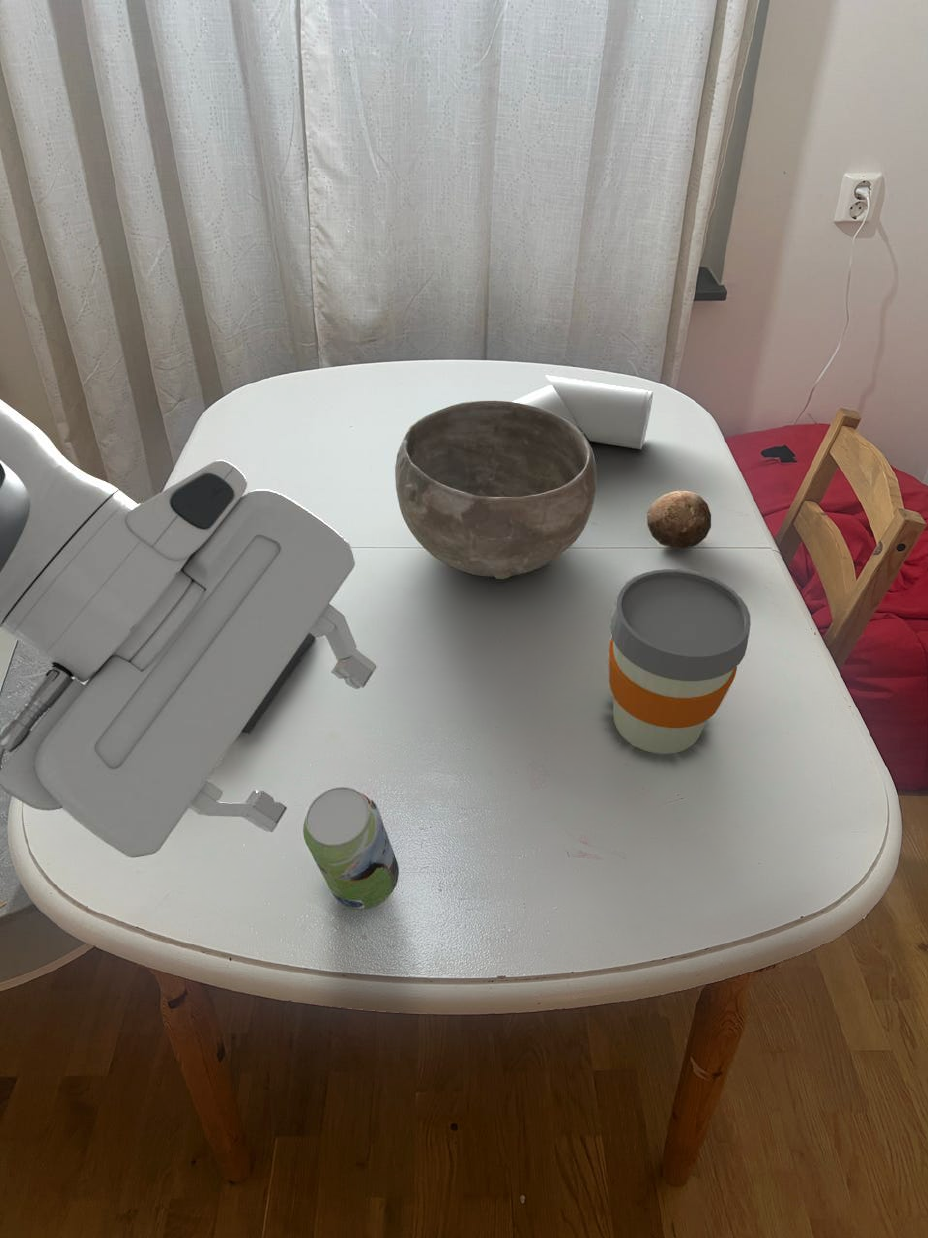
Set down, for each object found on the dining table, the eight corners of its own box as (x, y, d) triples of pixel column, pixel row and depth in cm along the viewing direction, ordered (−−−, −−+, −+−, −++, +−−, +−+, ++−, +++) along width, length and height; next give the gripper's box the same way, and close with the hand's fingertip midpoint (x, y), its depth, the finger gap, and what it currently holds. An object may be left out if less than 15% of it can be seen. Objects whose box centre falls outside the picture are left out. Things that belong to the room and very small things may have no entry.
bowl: (479, 639, 96) (482, 531, 86) (358, 539, 110) (348, 436, 100) (625, 555, 108) (642, 452, 98) (498, 474, 121) (502, 376, 111)
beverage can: (413, 872, 74) (407, 789, 66) (362, 940, 70) (349, 859, 62) (355, 839, 77) (343, 755, 69) (302, 903, 72) (283, 820, 64)
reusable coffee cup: (626, 781, 82) (649, 671, 72) (577, 689, 91) (592, 580, 80) (742, 752, 84) (781, 643, 74) (683, 665, 93) (711, 557, 83)
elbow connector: (577, 391, 138) (487, 432, 128) (595, 334, 129) (500, 374, 119) (658, 454, 131) (570, 503, 121) (683, 398, 123) (590, 446, 113)
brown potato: (664, 487, 113) (677, 470, 107) (713, 522, 113) (729, 508, 106) (629, 532, 112) (640, 518, 106) (679, 569, 111) (692, 557, 105)
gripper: (-32, 768, 36) (232, 927, 41) (243, 437, 45) (436, 598, 49) (-34, 769, 42) (199, 909, 46) (212, 473, 50) (389, 615, 55)
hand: (323, 746), depth 48 cm, fingers open, 8 cm apart
